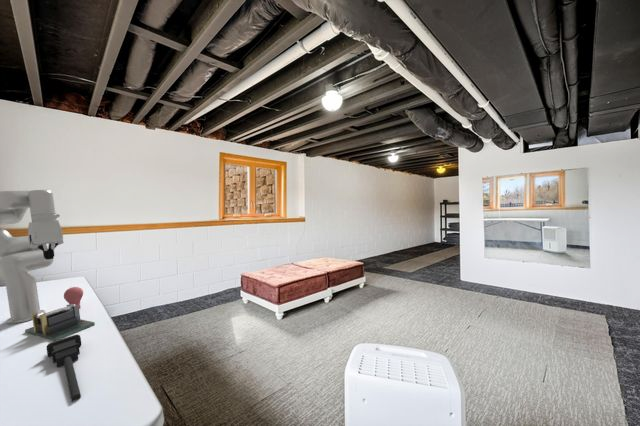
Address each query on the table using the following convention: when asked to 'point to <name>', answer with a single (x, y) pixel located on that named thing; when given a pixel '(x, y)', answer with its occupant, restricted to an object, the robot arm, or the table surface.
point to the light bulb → (73, 295)
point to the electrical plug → (67, 360)
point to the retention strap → (58, 310)
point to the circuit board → (58, 324)
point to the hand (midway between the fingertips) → (49, 258)
